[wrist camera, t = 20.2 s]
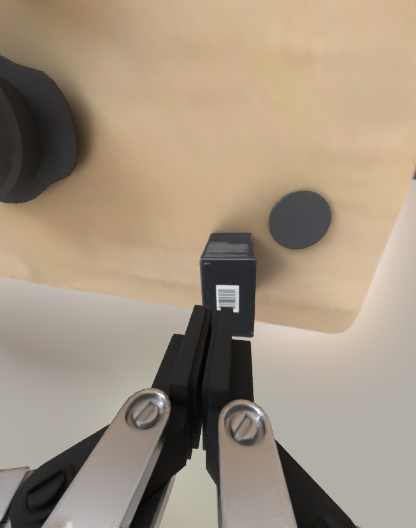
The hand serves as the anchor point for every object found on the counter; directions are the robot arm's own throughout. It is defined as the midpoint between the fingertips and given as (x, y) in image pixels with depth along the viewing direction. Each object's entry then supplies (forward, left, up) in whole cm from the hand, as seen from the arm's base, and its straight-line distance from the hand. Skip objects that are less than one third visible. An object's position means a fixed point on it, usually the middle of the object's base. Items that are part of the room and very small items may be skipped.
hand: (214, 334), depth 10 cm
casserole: (+33, -11, -25) cm, 43 cm away
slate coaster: (-9, 0, -25) cm, 27 cm away
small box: (0, +7, -14) cm, 16 cm away
